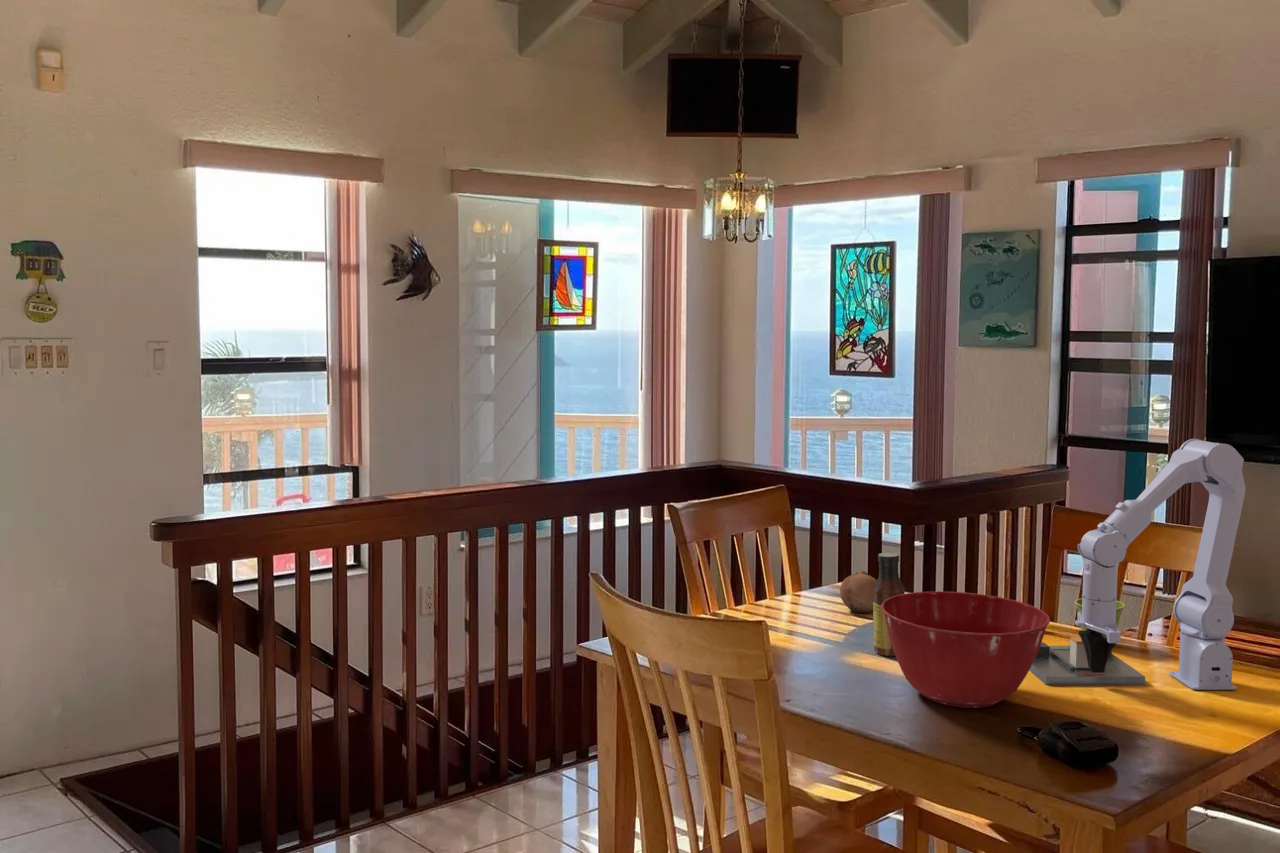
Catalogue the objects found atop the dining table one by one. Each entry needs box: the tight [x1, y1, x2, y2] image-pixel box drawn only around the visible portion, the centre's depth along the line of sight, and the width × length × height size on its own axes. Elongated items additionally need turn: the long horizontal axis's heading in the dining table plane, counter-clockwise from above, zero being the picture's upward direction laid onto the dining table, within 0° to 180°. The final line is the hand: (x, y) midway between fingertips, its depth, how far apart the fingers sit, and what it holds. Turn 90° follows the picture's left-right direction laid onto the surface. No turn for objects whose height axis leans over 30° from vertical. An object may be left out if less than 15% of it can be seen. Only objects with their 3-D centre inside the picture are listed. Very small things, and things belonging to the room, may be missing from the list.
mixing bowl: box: [881, 591, 1051, 709], centre depth 204 cm, size 28×28×15 cm
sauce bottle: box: [872, 552, 906, 657], centre depth 230 cm, size 7×6×20 cm
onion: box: [839, 570, 877, 615], centre depth 263 cm, size 10×9×10 cm
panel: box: [1029, 641, 1146, 686], centre depth 221 cm, size 20×18×4 cm
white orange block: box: [1069, 636, 1089, 668], centre depth 217 cm, size 3×4×5 cm
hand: (1096, 671), depth 211 cm, fingers closed
